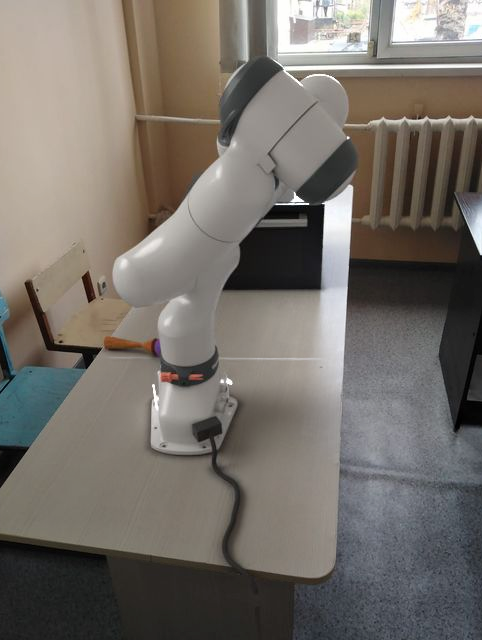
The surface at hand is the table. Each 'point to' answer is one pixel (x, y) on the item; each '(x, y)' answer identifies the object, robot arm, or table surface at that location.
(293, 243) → the oven door
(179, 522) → the table surface
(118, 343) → the kendama
